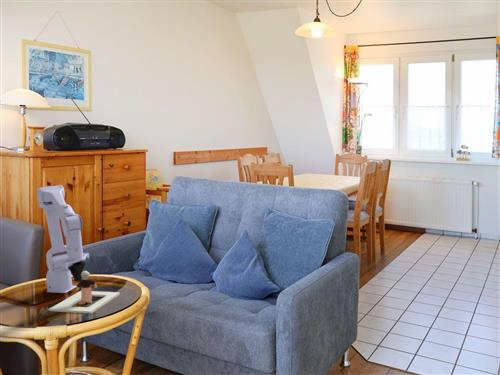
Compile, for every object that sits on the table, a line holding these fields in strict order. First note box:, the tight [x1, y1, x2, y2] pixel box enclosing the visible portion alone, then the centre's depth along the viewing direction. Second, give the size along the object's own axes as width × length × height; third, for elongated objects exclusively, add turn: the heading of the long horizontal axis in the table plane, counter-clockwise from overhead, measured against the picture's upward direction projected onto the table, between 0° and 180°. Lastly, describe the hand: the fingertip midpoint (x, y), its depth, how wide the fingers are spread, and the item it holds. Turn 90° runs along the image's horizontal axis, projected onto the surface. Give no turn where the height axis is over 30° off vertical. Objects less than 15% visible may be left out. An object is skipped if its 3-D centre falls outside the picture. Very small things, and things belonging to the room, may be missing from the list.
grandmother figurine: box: [75, 270, 98, 305], centre depth 189 cm, size 8×4×13 cm, turn 117°
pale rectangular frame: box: [48, 290, 121, 315], centre depth 191 cm, size 18×20×1 cm
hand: (78, 281), depth 190 cm, fingers closed
